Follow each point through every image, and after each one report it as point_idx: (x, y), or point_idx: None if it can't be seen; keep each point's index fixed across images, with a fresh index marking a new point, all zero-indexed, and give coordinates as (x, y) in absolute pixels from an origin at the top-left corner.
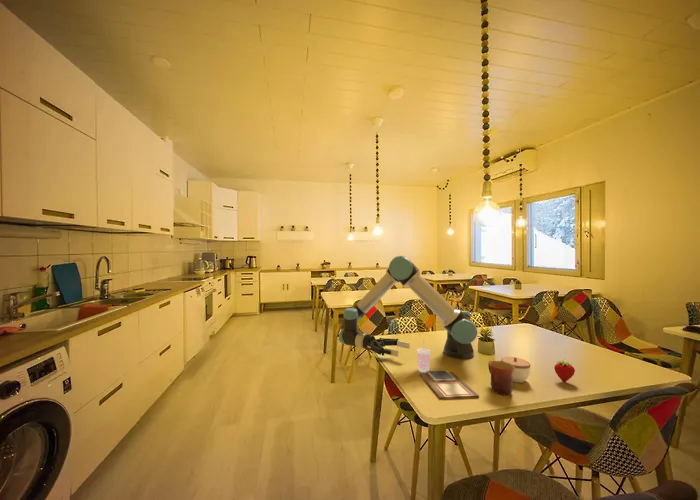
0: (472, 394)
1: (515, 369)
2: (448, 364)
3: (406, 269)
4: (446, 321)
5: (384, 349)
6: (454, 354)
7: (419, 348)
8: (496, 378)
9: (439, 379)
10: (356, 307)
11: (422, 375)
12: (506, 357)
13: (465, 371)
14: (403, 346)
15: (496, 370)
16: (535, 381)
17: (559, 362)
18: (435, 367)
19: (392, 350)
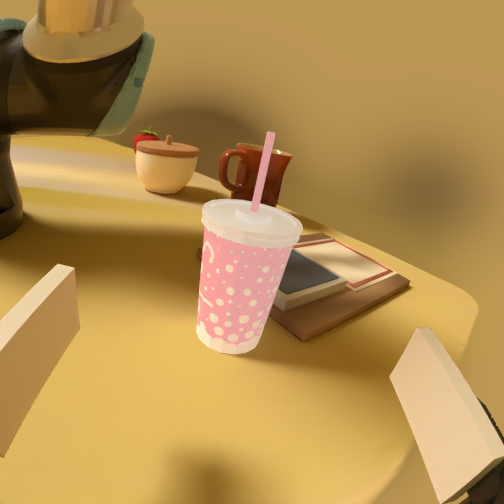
0: (330, 238)
1: (196, 159)
2: (91, 255)
3: None
4: (120, 30)
5: (500, 465)
6: (7, 221)
7: (222, 223)
8: (281, 182)
9: (330, 271)
10: None
11: (324, 322)
12: (148, 144)
13: (151, 231)
14: (44, 366)
15: (288, 163)
16: None
17: (148, 132)
18: (151, 292)
19: (453, 377)
